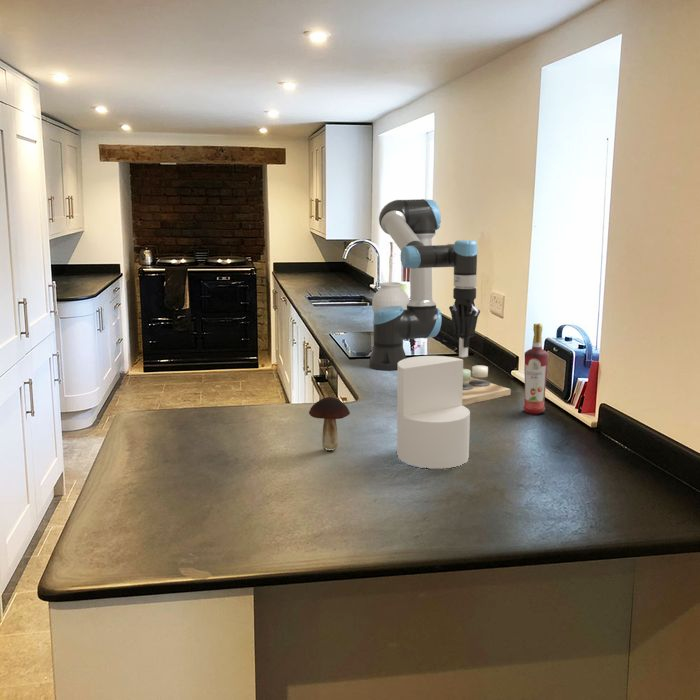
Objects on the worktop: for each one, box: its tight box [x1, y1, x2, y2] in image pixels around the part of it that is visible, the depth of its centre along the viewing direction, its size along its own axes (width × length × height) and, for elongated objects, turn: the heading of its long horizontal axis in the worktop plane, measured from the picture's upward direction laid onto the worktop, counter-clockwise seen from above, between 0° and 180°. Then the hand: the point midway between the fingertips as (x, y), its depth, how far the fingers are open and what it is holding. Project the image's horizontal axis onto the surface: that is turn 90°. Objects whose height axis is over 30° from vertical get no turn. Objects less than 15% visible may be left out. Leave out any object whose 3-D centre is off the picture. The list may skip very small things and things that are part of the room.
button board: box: [462, 376, 512, 406], centre depth 247 cm, size 22×24×3 cm
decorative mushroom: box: [308, 396, 351, 449], centre depth 192 cm, size 11×11×15 cm
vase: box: [371, 281, 410, 314], centre depth 343 cm, size 18×18×25 cm
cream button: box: [471, 364, 489, 379], centre depth 250 cm, size 5×5×3 cm
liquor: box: [522, 323, 550, 415], centre depth 222 cm, size 7×7×28 cm
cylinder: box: [396, 355, 471, 469], centre depth 186 cm, size 19×19×25 cm
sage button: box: [463, 368, 472, 381], centre depth 245 cm, size 5×5×3 cm
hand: (463, 356), depth 244 cm, fingers closed
